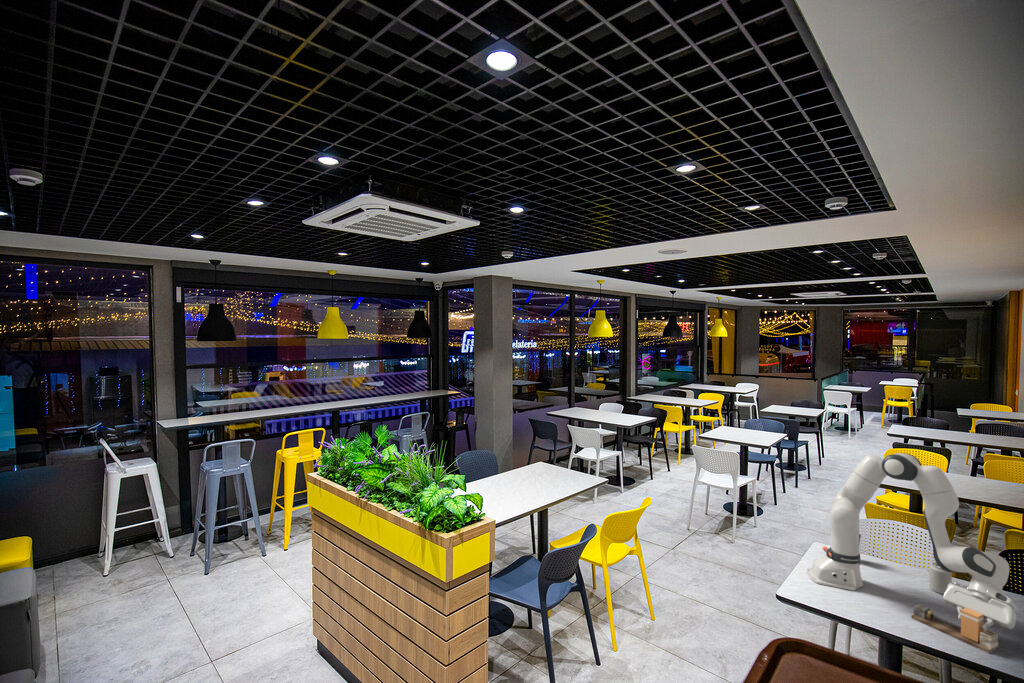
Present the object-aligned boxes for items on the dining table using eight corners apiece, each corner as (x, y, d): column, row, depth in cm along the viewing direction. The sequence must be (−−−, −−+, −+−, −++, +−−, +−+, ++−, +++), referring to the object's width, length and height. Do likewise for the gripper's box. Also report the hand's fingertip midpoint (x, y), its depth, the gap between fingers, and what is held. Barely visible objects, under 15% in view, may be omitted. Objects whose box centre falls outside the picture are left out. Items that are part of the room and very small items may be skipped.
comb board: (911, 617, 195) (911, 604, 195) (921, 612, 198) (921, 599, 198) (988, 653, 173) (989, 638, 173) (999, 647, 176) (999, 632, 176)
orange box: (960, 634, 182) (960, 610, 182) (966, 631, 184) (966, 607, 184) (977, 642, 177) (978, 617, 177) (983, 639, 179) (983, 614, 179)
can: (942, 587, 218) (942, 561, 218) (956, 596, 211) (956, 569, 210) (925, 586, 219) (925, 560, 218) (938, 595, 211) (938, 568, 211)
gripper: (947, 576, 193) (934, 606, 189) (1017, 601, 174) (1004, 635, 170) (952, 584, 195) (940, 614, 191) (1022, 610, 176) (1010, 644, 172)
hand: (971, 624), depth 180 cm, fingers closed on orange box, 5 cm apart
